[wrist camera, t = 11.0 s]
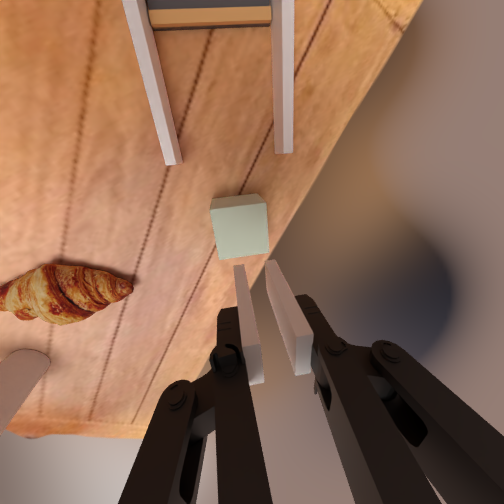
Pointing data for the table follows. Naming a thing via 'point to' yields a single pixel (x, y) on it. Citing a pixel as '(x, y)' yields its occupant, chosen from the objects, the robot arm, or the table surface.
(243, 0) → the drawer
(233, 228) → the block
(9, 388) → the coffee cup
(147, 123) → the table surface
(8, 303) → the croissant
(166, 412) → the robot arm
